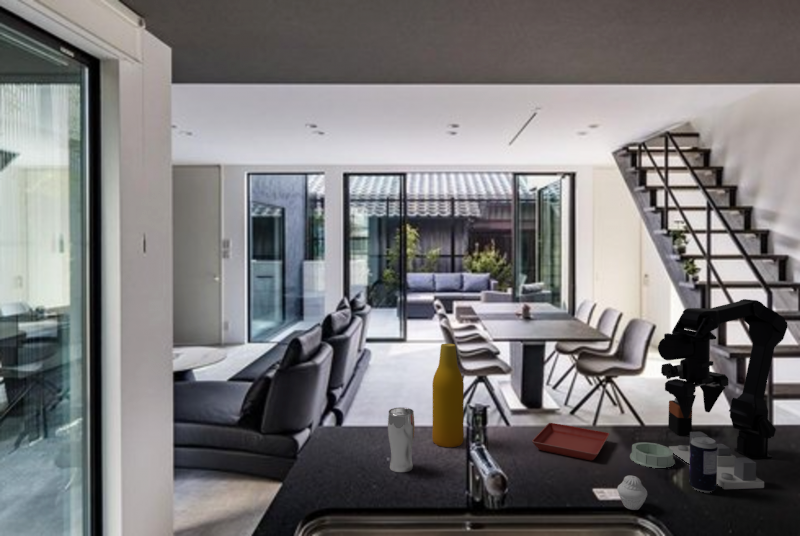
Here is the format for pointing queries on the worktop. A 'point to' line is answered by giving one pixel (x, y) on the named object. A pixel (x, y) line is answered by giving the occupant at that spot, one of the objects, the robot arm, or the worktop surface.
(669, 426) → the battery
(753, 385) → the robot arm
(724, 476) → the switch panel
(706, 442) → the beverage can
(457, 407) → the beer bottle
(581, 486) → the worktop surface
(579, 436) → the plant saucer
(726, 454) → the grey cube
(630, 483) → the lidded jar
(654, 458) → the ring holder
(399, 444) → the beer glass
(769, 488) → the worktop surface
